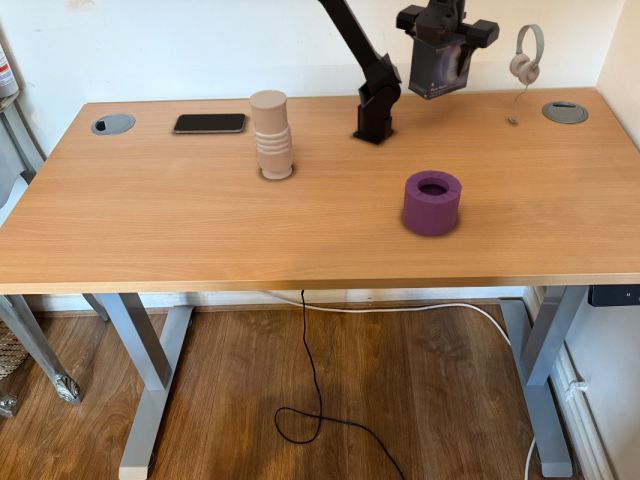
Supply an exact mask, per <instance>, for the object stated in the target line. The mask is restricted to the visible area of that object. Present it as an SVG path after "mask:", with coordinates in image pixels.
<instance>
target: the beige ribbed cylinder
mask: <svg viewBox="0 0 640 480" xmlns="http://www.w3.org/2000/svg"><path fill="white" fill-rule="evenodd" d="M287 101H288V96H287V94H285V92H283V91H281V90H276V89H265V90H259V91H257V92H254V93H253V94H251V95H250V97H249V98H248V104H249V106H250V108H251V116H252V121H253V127H252V132H253V138H254V144H255V150H256V152H257V160H258V161H257V162H258V165H259V167H260V168H261V169H262V170H261V174H262V176H264V178H266V179H269V180H282V179H285V178H287V177H289V176H290V175H291V174H292V173H293V168H292V165H293V163H294V157H293V151H292V148H293V141H292V140H293V139H292V131H291V129H292V128H291V125H290V123H289V119H288V111H287Z"/></svg>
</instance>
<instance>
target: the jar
mask: <svg viewBox="0 0 640 480" xmlns="http://www.w3.org/2000/svg"><path fill="white" fill-rule="evenodd" d="M462 188H463V186H462V183H461V182H460V180H459V179H458V178H456V177H455V176H454V175H453V174H450V173H448V172H445V171H441V170H434V169H429V170H421V171H418V172H415V173H412V174H411V175H410V176H409V177H408V178H407V179H406V181H405V185H404V195H403V208H402V220H403V223H404V225H405V227H406V228H407V229H408V230H410V231H411V232H413V233H415V234H417V235H420V236H426V237H439V236H443V235H445V234H448V233H449V232H451V231H452V230H453V229H454V228H455V226H456V224H457V218H458V213H459V207H460V201H461V196H462V195H461V194H462Z"/></svg>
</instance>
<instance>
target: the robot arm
mask: <svg viewBox="0 0 640 480" xmlns="http://www.w3.org/2000/svg"><path fill="white" fill-rule="evenodd" d="M317 2H319V3H320V5H322V7H323V9H324V10H325V11H326V13H327V15H328V17H329V18H330V20H331V22H332V23H333V26H335V28H336V30H337V32H338V33H339V35H340V36H341V37H342V39H343V41H344V43H345V44H346V46H347V47H348V49H349V50H350V52H351V55H353V57H354V59H355V60H356V62H357V63H358V65H359V66H360V69H361V71H362V73H363V77H364V79H365V81H364V83H363V84H362V85H361V86H359V88H358V89H357V92H358V96H359V101H360V104H358V105H357V129H356V130H355V131H354V132H353V133H352V137H354V138H358V139H359V140H363V141H366V142H369V143H371V144H374V145H380V144H381V143H382V142H383V141H384V140H386V139H388V138H389V137H390V136H391V135H392V134H393V133H395V129H393V115H391V114H392V108H393V106H394V105H395V104H396V103H397V102H398V101H399V100H400V98H401V95H402V88H401V85H400V84H403V81H402V78H401V75H400V72H399V70H398V67H397V66H396V65H394V63H393V62H392V60H391V57H390V55H389V52H386V53H385V54H384V55H383V56H382V55H381V54H380V53H379V52H377V50H376V49H375V47H374V46H373V43H372V42H371V40H370V39H369V37H368V36H367V34H366V32H365V30H364V28H363V27H362V25H361V23H360V22H359V20H358V18H357V17H356V15H355V13H354V11H353V10H352V8H351V6H350V4H349V3H348V1H347V0H317ZM466 2H467V1H466V0H428V2H427V5H426V6H421V5H416V4H410V5H408V6H407V7H405V8H403V9H402V10H400V11H398V13H397V15H396V17H395V28H396V29H397V30H402V31H404V34H405V35H406V36H408V37H410V38H411V40H413V39H414V36H417V38H418V39H421V40H422V39H425V40H429V41H431V42H433V43H437V42H439V41H441V40H442V38H443V36H445V35H448V36H452V35H453V33H457V34H461V35H465V36H466V41H465V42H463V43H462V44H461V45H460V49H461V54H460V59H459V64H458V69H457V77H459V76H461V74H462V72H463V71H464V69H465V67H466V65H467V63H468V62H469V60H470V58H471V59H472V57H471V56H473V54H474V53H475V52H476V51H477V50H478V49H481V50H482V49H483V50H484V49H487V48H488V47H490V46H491V45H492V44H493V43H494V42H496V41H497V40H499V36H500V31H501V28H500V26H499V23H498V22H497V21H491V20H486V19H481V18H480V19H478V20H477V21H475V22H474V23H467V22H464V20H465V19H466V18H467V11H465V9H466V8H465V7H466Z"/></svg>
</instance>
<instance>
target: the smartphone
mask: <svg viewBox="0 0 640 480" xmlns="http://www.w3.org/2000/svg"><path fill="white" fill-rule="evenodd" d="M246 119H247V117H246V114H245V113H241V112H240V113H239V112H238V113H184V114H181V115H179V116H178V118H177V120H176V123H175V125H174V127H173V132H174V133H176V134H204V133H205V134H209V133H211V134H212V133H214V134H215V133H240V132H242V131H243V130H244V126H245V121H246Z"/></svg>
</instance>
